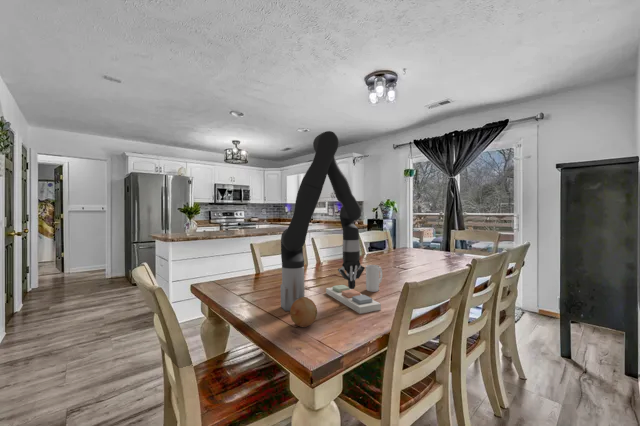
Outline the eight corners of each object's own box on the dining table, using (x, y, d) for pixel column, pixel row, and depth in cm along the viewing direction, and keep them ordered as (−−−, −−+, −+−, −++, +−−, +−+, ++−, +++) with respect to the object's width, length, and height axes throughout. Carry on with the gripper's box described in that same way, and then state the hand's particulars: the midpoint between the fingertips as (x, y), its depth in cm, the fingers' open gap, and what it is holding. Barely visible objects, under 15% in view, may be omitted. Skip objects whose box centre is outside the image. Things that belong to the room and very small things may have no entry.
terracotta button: (348, 299, 127) (348, 294, 127) (341, 295, 133) (341, 290, 132) (360, 297, 130) (360, 292, 130) (353, 293, 135) (353, 289, 135)
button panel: (359, 313, 115) (359, 307, 115) (326, 293, 143) (326, 288, 143) (380, 309, 120) (380, 303, 120) (344, 290, 147) (344, 285, 147)
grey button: (360, 305, 119) (360, 300, 119) (352, 301, 124) (352, 296, 124) (372, 303, 121) (372, 298, 121) (364, 299, 127) (364, 294, 127)
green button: (338, 293, 135) (338, 289, 135) (332, 290, 141) (332, 286, 141) (349, 291, 138) (349, 287, 138) (343, 288, 143) (343, 284, 143)
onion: (315, 332, 99) (315, 302, 99) (286, 330, 100) (286, 301, 100) (319, 321, 108) (319, 294, 108) (293, 319, 110) (293, 293, 110)
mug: (371, 292, 143) (371, 268, 143) (362, 289, 149) (362, 265, 149) (387, 289, 148) (387, 265, 148) (377, 286, 154) (377, 263, 154)
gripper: (342, 252, 124) (342, 293, 125) (368, 249, 130) (369, 288, 130) (333, 249, 131) (334, 288, 132) (359, 247, 137) (360, 284, 137)
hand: (351, 288), depth 131 cm, fingers closed
